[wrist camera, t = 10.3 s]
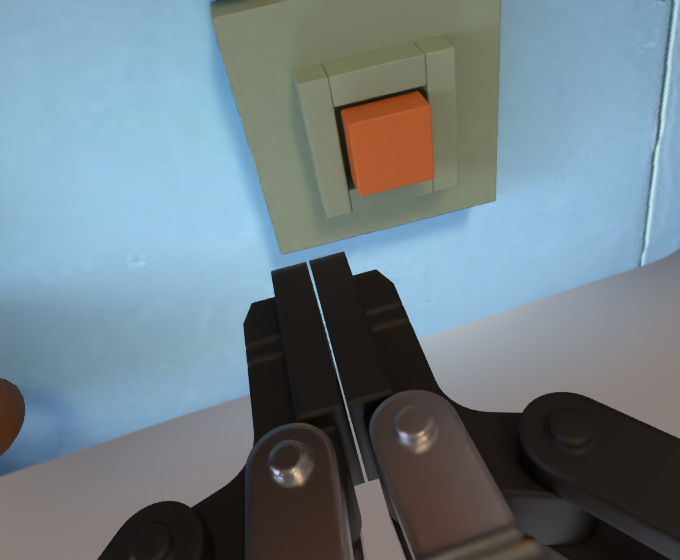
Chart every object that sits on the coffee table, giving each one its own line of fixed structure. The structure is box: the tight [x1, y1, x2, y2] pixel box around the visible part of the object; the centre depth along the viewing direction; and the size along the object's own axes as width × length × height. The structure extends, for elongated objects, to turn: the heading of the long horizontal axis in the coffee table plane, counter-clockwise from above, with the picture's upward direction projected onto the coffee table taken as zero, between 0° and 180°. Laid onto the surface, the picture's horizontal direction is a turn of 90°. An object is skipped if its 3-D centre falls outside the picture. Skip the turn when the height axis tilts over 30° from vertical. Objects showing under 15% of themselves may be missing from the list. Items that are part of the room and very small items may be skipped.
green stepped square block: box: [211, 0, 501, 254], centre depth 24 cm, size 11×11×4 cm
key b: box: [341, 91, 435, 197], centre depth 22 cm, size 3×3×2 cm
